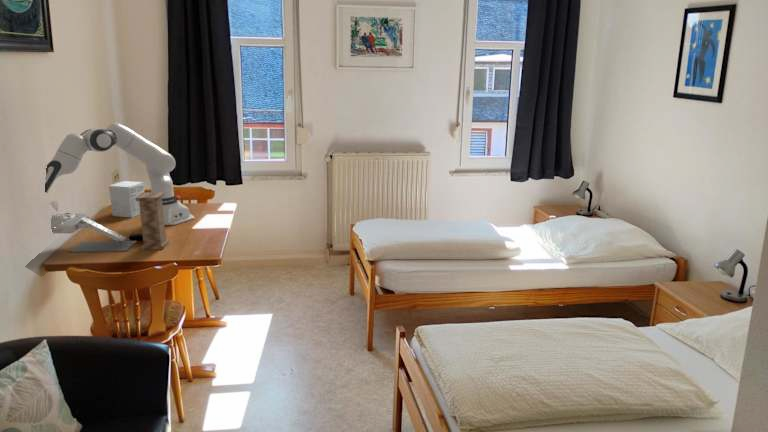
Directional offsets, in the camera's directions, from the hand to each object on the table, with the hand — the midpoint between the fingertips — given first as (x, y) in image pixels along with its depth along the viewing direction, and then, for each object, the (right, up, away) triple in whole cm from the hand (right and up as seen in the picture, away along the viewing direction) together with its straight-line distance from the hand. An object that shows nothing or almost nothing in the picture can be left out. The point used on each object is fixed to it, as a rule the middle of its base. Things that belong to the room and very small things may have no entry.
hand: (91, 223), depth 286 cm
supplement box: (-7, +4, +60) cm, 61 cm away
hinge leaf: (+4, -4, +1) cm, 6 cm away
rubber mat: (+4, -11, +3) cm, 12 cm away
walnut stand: (+28, -11, +5) cm, 30 cm away
